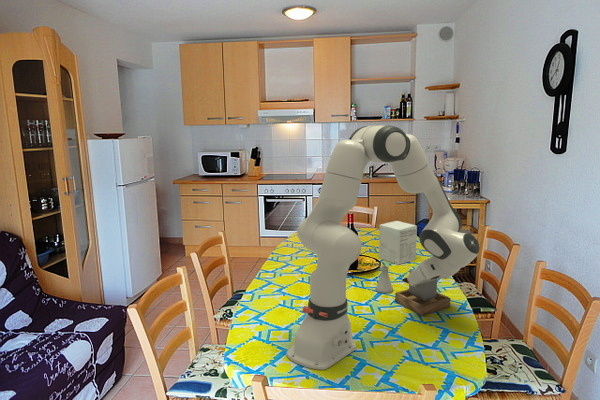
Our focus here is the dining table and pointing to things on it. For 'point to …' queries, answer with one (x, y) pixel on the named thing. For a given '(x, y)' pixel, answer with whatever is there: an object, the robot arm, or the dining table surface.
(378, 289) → the flask
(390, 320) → the dining table surface
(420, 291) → the small crate
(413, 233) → the supplement box
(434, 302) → the tray
